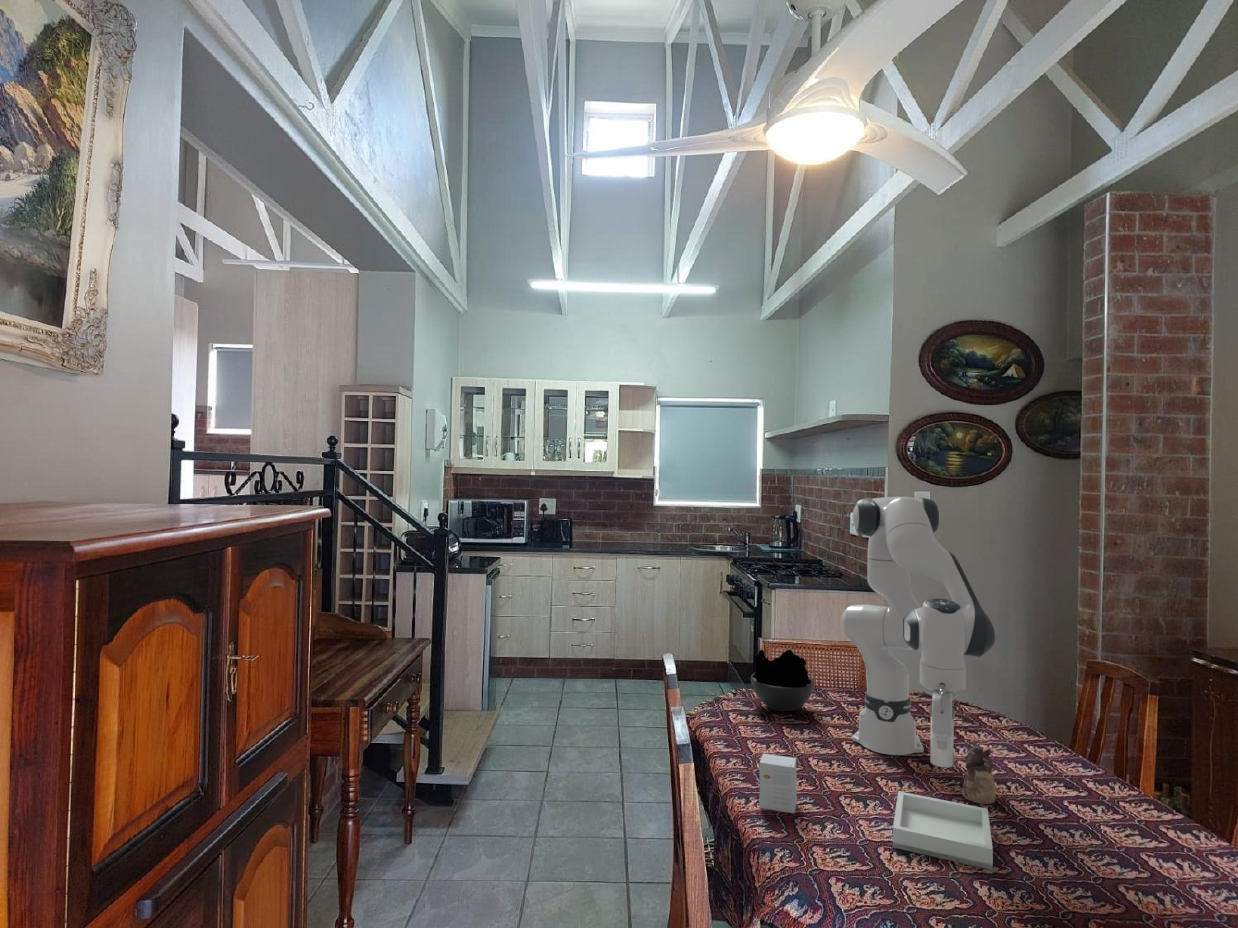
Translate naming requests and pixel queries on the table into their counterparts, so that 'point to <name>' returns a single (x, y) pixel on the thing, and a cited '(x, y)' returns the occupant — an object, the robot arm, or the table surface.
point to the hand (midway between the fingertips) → (941, 743)
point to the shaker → (938, 755)
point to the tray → (943, 830)
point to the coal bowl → (782, 681)
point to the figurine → (979, 777)
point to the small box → (778, 783)
